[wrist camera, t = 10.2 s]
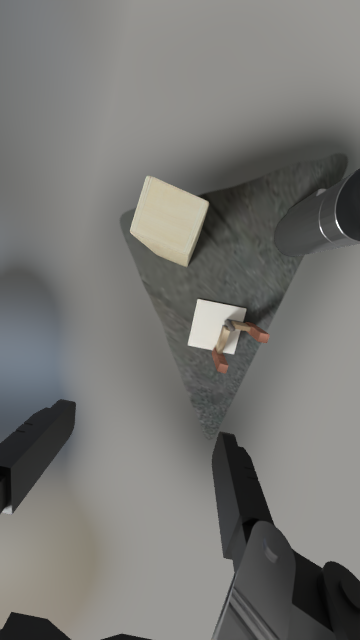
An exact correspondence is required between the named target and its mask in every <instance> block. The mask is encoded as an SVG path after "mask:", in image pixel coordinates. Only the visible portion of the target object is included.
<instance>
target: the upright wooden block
mask: <svg viewBox="0 0 360 640" xmlns="http://www.w3.org/2000/svg"><path fill="white" fill-rule="evenodd" d="M208 207H209V202H208V201H206V200H204V199H202V198H199V197H197V196H195V195H193V194H190V193H188V192H186V191H184V190H181V189H179V188H177V187H174V186H172V185H170V184H167V183H166V182H163V181H161V180H159V179H157V178H154V177H152V176H147V177H146V180H145V183H144V186H143V189H142V192H141V196H140V199H139V202H138V205H137V209H136V212H135V215H134V218H133V222H132V225H131V229H130V232H131V234H132V235H134V236H135V237H136V238H137V239H138V240H140V241H141V242H142V243H143V244H144V245H146V246H147V247H148V248H149V249H150V250H152V251H153V252H154V253H155V254H157V255H159V256H161V257H163V258H166V259H168V260H170V261H173V262H175V263H178V264H180V265H182V266H185V267H187V266H188V264H189V261H190V259H191V256H192V254H193V251H194V249H195V246H196V244H197V241H198V238H199V235H200V232H201V229H202V226H203V223H204V220H205V216H206V213H207V210H208Z"/></svg>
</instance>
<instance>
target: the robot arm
mask: <svg viewBox="0 0 360 640" xmlns="http://www.w3.org/2000/svg"><path fill="white" fill-rule="evenodd" d="M274 239H275V244H276V247H277V248H278V250H279V251H280V252H281V253H283V254H284V255H286V256H291V257H295V256H302V255H306V254H311V253H316V252H321V251H326V250H331V249H336V248H340V247H345V246H350V245H355V244H360V169H358V170H357V171H355V172H354V173H352V174H351V175H349V176H348V177H346V178H344V179H343V180H341V181H340V182H338V183H337V184H335V185H333V186H332V187H330V188H329V189H319V190H317V191H316V192H314V193H313V194H311V195H310V196H308V197H307V198H305V199H304V200H302V201H301V202H299V203H298V204H296V205H295V206H294V207H292V208H291V209H289V210H288V213H287V215H286V216H285V217H284V218H283V219H282V220H281V221H280V222H279V224H278V225H277V227H276V230H275V236H274ZM75 410H76V403H75V402H73V401H67V400H62V399H60V400H58V401H57V402H56V404H54V405H53V406H52V407H51V408H44V409H42V410H40V411H39V412H37V413H35V414H33V415H32V416H31V417H30V418H29V419H28V420H27V421H25V422H24V424H22V425H21V426H20V427H19V428H17V429H16V431H15V432H13V433H12V434H11V435H10V436H9V437H7V438H6V439H5V440H4V441H3V442H2V443H0V513H7V514H13V513H14V511H15V510H16V508H17V507H18V506H19V504H20V503H21V502H22V500H23V499H24V498H25V496H26V495H27V493H28V492H29V491H30V490H31V488H32V487H33V486H34V484H35V483H36V482H37V480H38V479H39V478H40V476H41V475H42V474H43V472H44V471H45V469H46V468H47V467H48V465H49V464H50V463H51V461H52V460H53V459H54V457H55V456H56V455H57V453H58V452H59V451H60V449H61V448H62V447H63V445H64V444H65V443H66V441H67V440H68V439H69V437H70V435H71V434H72V431H73V429H74V424H75ZM212 471H213V479H214V487H215V494H216V502H217V510H218V518H219V526H220V534H221V541H222V549H223V557H224V558H226V559H232V560H233V566H234V572H235V573H234V576H233V578H232V581H231V584H230V587H229V590H228V593H227V595H226V598H225V601H224V604H223V607H222V610H221V613H220V616H219V618H218V622H217V624H216V627H215V630H214V633H213V636H212V639H211V640H360V581H359V580H358V579H357V578H356V577H355V576H354V575H353V574H352V573H351V572H350V571H349V570H348V569H346V568H345V567H344V566H342V565H340V564H339V563H336V562H332V561H330V562H327V563H326V564H325V565H324V567H323V568H321V567H319V566H318V565H316V564H315V563H313V562H311V561H310V560H308V559H306V558H305V557H303V556H301V555H300V554H298V553H297V552H295V551H294V550H293V549H292V548H291V546H290V544H289V543H288V541H287V539H286V538H285V536H284V535H283V534H282V533H281V531H280V530H279V529H277V528H276V527H275V525H274V523H273V520H272V517H271V514H270V511H269V509H268V506H267V503H266V500H265V497H264V494H263V492H262V489H261V486H260V483H259V481H258V477H257V474H256V472H255V469H254V466H253V463H252V460H251V457H250V456H249V455H248V453H247V452H246V450H245V449H244V448H243V447H239V446H238V445H237V442H236V438H235V435H234V434H230V433H225V432H219V434H218V437H217V441H216V444H215V448H214V451H213V455H212ZM0 640H71V639H70V638H68V637H67V636H66V635H65V634H64V633H63V632H62V631H60V630H59V629H58V628H57V627H56V626H55V625H53V624H52V623H51V622H50V621H49V620H48V619H44V618H40V617H34V616H29V615H24V614H19V613H14V612H11V614H10V616H9V618H8V619H7V621H6V623H5V625H4V627H3V629H0ZM102 640H151V639H146V638H141V637H136V636H131V635H126V634H119V635H116V636H112V637H108V638H105V639H102Z"/></svg>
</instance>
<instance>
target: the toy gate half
mask: <svg viewBox="0 0 360 640" xmlns="http://www.w3.org/2000/svg"><path fill="white" fill-rule="evenodd" d="M229 333H230V330H229V329H228V328H227V327H225V326H223V328H222V330H221V333H220V336H219V339H218V342H217V345H216V347H214V348H213V351H212V356H213V359H214V362H215V366H216V369H217V371H219V372H222V373H226V371H227V368H228V364H227V361H226V359H225V357H224V355H223V350H224V347H225V344H226V342H227V339H228V336H229Z"/></svg>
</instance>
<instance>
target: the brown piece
mask: <svg viewBox="0 0 360 640" xmlns="http://www.w3.org/2000/svg"><path fill="white" fill-rule="evenodd" d="M224 322H225V324H226V325H227V326H228V327H229V329H230V330H231V331H235V329H238V330H243V331H247V332H248V333H249V334H250V335H251V336H252V337H254V338H255V339H256V340H257V341H258V342H263V343H267V341H268V338H269V334H268V333H266V332H265V331H264V330H262V329H261V328H259V327H258V326H256V325H255V324H253V323H250V322H245V323H241V322H236V321H231V323H230V322H229V321H228V320H227V319H226V320H225V321H224Z"/></svg>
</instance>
